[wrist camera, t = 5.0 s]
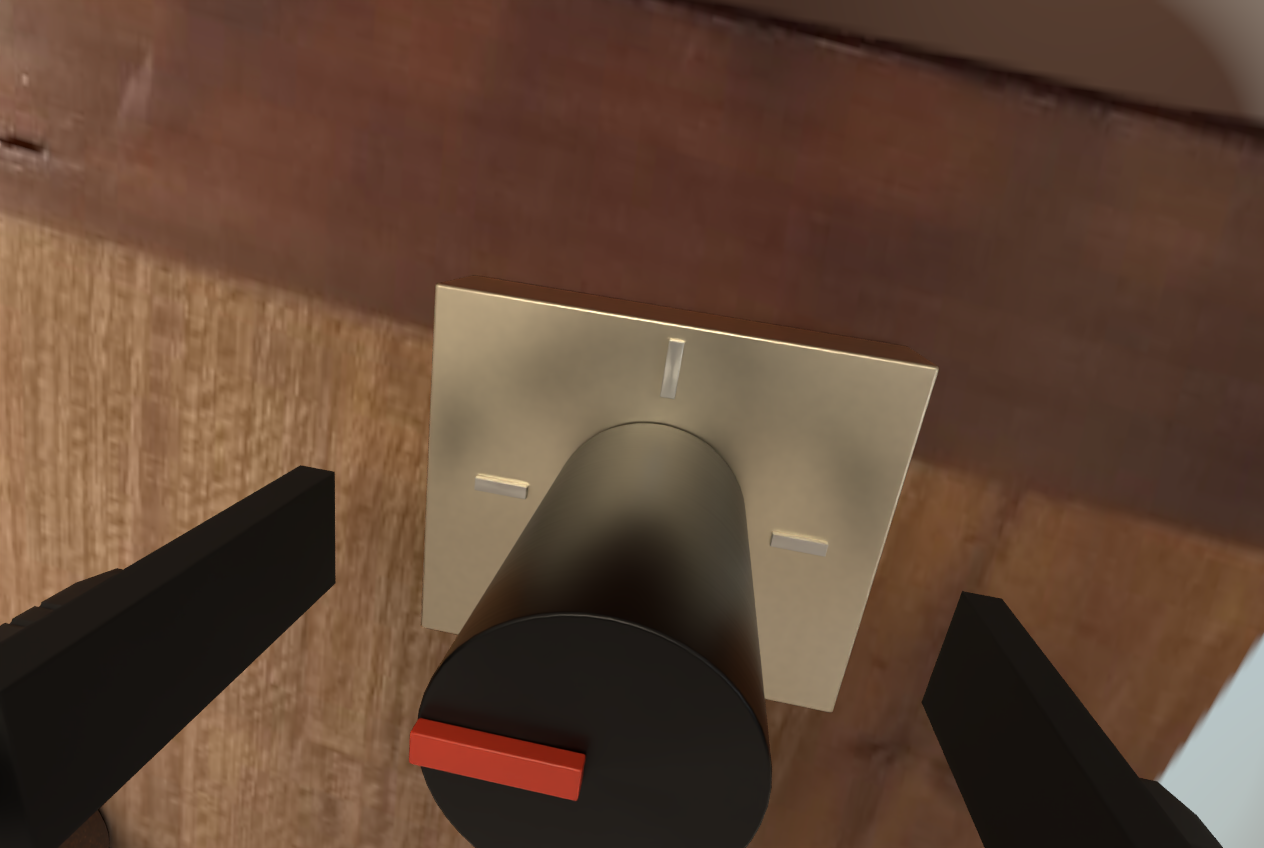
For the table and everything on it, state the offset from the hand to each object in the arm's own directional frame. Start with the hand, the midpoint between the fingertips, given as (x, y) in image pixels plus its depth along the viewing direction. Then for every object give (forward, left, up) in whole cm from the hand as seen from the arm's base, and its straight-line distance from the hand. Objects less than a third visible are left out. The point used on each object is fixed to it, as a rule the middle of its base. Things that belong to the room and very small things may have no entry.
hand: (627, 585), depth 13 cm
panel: (0, 0, -6) cm, 6 cm away
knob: (0, 0, -3) cm, 3 cm away
